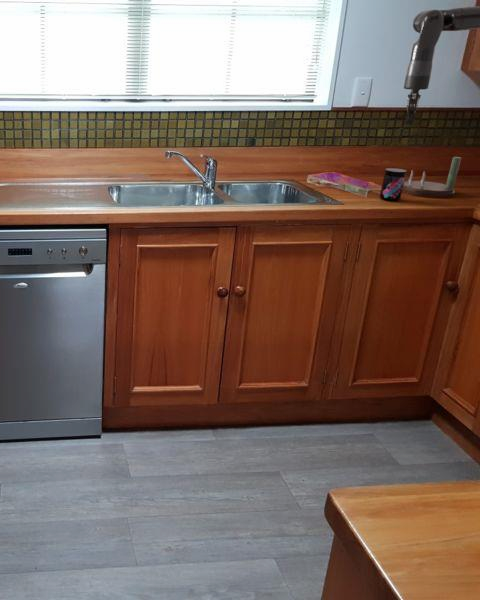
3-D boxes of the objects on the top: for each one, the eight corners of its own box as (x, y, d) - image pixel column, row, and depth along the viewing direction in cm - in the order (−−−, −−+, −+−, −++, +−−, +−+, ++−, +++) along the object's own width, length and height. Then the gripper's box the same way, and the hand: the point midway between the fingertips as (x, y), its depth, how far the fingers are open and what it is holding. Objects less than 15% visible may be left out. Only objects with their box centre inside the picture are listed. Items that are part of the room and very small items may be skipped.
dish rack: (451, 186, 229) (460, 154, 225) (454, 195, 215) (463, 161, 211) (402, 181, 236) (409, 150, 232) (401, 190, 222) (409, 156, 217)
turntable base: (452, 190, 230) (453, 186, 230) (455, 200, 215) (456, 196, 215) (399, 185, 237) (400, 181, 237) (399, 194, 223) (400, 190, 222)
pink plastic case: (393, 196, 220) (396, 181, 218) (360, 198, 215) (363, 184, 213) (334, 179, 246) (336, 166, 244) (304, 181, 241) (306, 168, 239)
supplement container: (375, 199, 215) (382, 169, 211) (383, 196, 219) (390, 167, 215) (395, 202, 210) (402, 172, 206) (403, 200, 215) (409, 170, 210)
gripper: (431, 75, 200) (421, 125, 206) (430, 74, 212) (420, 122, 218) (405, 74, 204) (396, 124, 210) (406, 73, 215) (397, 121, 221)
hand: (408, 123), depth 214 cm, fingers open, 8 cm apart
